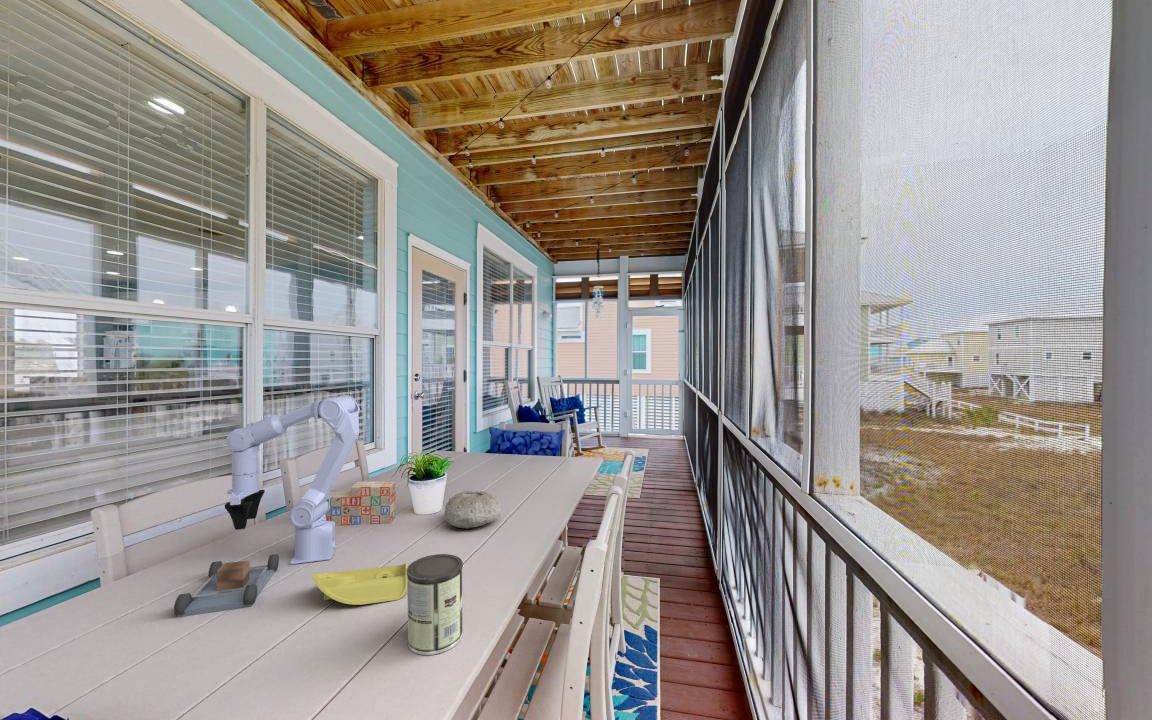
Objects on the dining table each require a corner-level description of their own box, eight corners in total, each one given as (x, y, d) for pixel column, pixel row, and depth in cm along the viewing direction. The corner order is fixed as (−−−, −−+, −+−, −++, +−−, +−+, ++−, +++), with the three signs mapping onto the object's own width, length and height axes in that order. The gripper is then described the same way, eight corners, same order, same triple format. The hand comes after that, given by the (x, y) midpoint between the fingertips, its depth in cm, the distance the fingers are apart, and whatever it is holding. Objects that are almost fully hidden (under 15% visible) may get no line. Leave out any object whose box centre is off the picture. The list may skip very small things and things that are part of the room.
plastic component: (404, 564, 112) (409, 562, 104) (403, 598, 109) (407, 598, 101) (313, 574, 104) (310, 572, 96) (309, 610, 101) (305, 612, 93)
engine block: (249, 579, 107) (249, 560, 107) (243, 587, 103) (243, 567, 103) (224, 582, 105) (224, 563, 105) (216, 590, 101) (216, 571, 101)
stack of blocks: (320, 526, 143) (320, 488, 142) (328, 519, 149) (328, 482, 149) (390, 524, 145) (390, 485, 145) (396, 517, 151) (395, 480, 151)
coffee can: (425, 619, 93) (425, 551, 93) (472, 626, 90) (471, 556, 90) (395, 651, 83) (394, 575, 83) (446, 660, 80) (445, 581, 80)
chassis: (278, 567, 115) (278, 551, 115) (250, 608, 97) (250, 589, 97) (215, 575, 111) (215, 559, 111) (174, 619, 92) (173, 600, 92)
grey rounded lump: (475, 510, 157) (475, 482, 157) (513, 521, 147) (513, 491, 147) (432, 526, 143) (432, 495, 143) (470, 540, 132) (470, 506, 132)
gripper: (238, 467, 125) (238, 515, 125) (215, 481, 111) (215, 535, 112) (267, 465, 127) (268, 513, 128) (248, 478, 114) (249, 532, 114)
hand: (245, 523), depth 120 cm, fingers open, 7 cm apart
